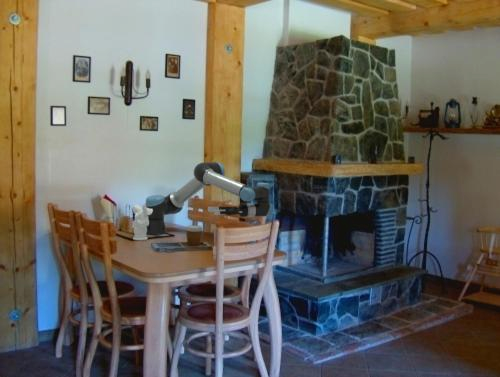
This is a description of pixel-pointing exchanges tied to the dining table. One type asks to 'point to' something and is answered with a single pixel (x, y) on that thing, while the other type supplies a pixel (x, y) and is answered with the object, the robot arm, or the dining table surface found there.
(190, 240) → the disposable coffee cup
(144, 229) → the cherub figurine
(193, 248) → the two-bay frame
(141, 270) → the dining table surface
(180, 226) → the dining table surface
